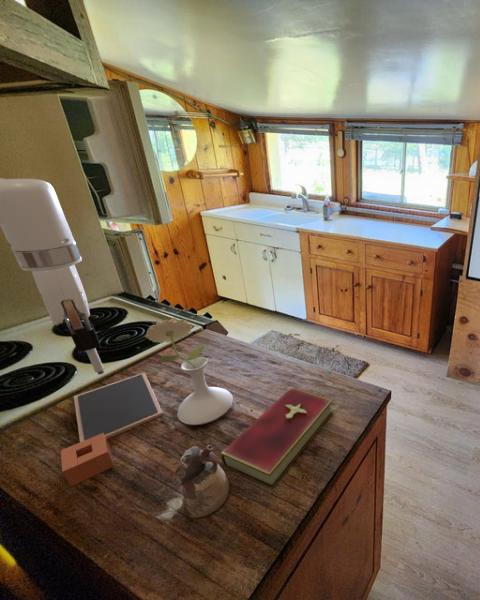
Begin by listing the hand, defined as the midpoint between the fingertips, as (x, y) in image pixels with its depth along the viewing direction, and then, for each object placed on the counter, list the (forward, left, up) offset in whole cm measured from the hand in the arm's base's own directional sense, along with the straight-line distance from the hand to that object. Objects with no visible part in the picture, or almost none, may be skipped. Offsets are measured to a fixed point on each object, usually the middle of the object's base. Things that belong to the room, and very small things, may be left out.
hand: (89, 346), depth 63 cm
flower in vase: (+14, -7, -21) cm, 26 cm away
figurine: (+8, -30, -21) cm, 38 cm away
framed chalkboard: (0, +8, -21) cm, 22 cm away
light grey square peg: (0, 0, -7) cm, 7 cm away
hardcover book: (+24, -27, -21) cm, 42 cm away
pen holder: (-6, -8, -21) cm, 23 cm away
